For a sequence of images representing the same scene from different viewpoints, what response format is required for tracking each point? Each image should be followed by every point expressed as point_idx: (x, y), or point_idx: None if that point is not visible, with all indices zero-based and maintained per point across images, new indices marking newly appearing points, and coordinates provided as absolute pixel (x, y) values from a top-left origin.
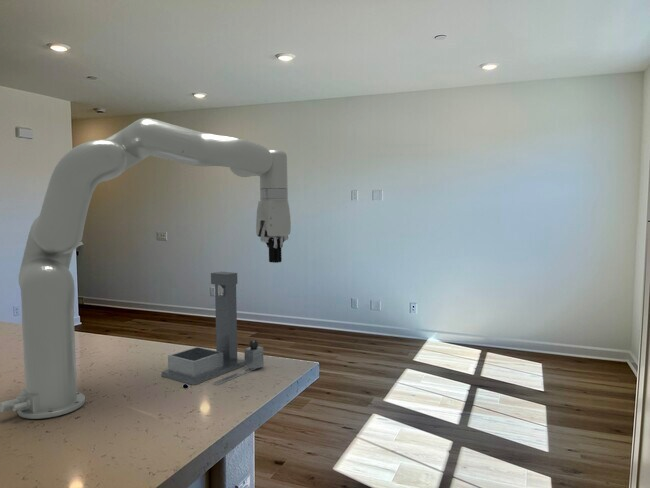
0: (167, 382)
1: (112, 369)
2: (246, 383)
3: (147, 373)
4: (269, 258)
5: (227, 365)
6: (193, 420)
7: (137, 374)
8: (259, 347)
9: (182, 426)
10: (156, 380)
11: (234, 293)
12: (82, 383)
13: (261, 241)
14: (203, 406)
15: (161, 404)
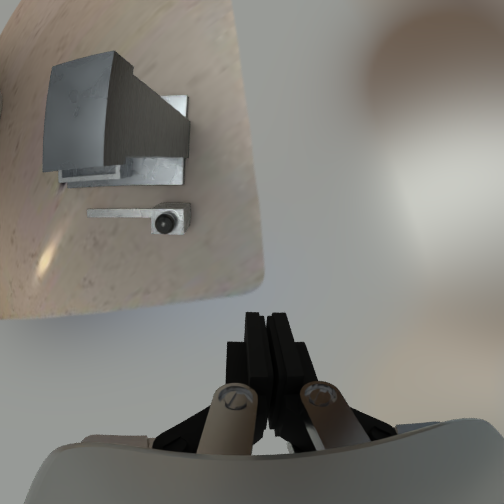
0: None
1: (72, 28)
2: (118, 250)
3: None
4: (246, 326)
5: (142, 175)
6: (26, 274)
7: None
8: (176, 229)
9: (17, 274)
10: None
11: (131, 156)
12: (25, 61)
13: (97, 435)
14: (44, 257)
15: (23, 208)
